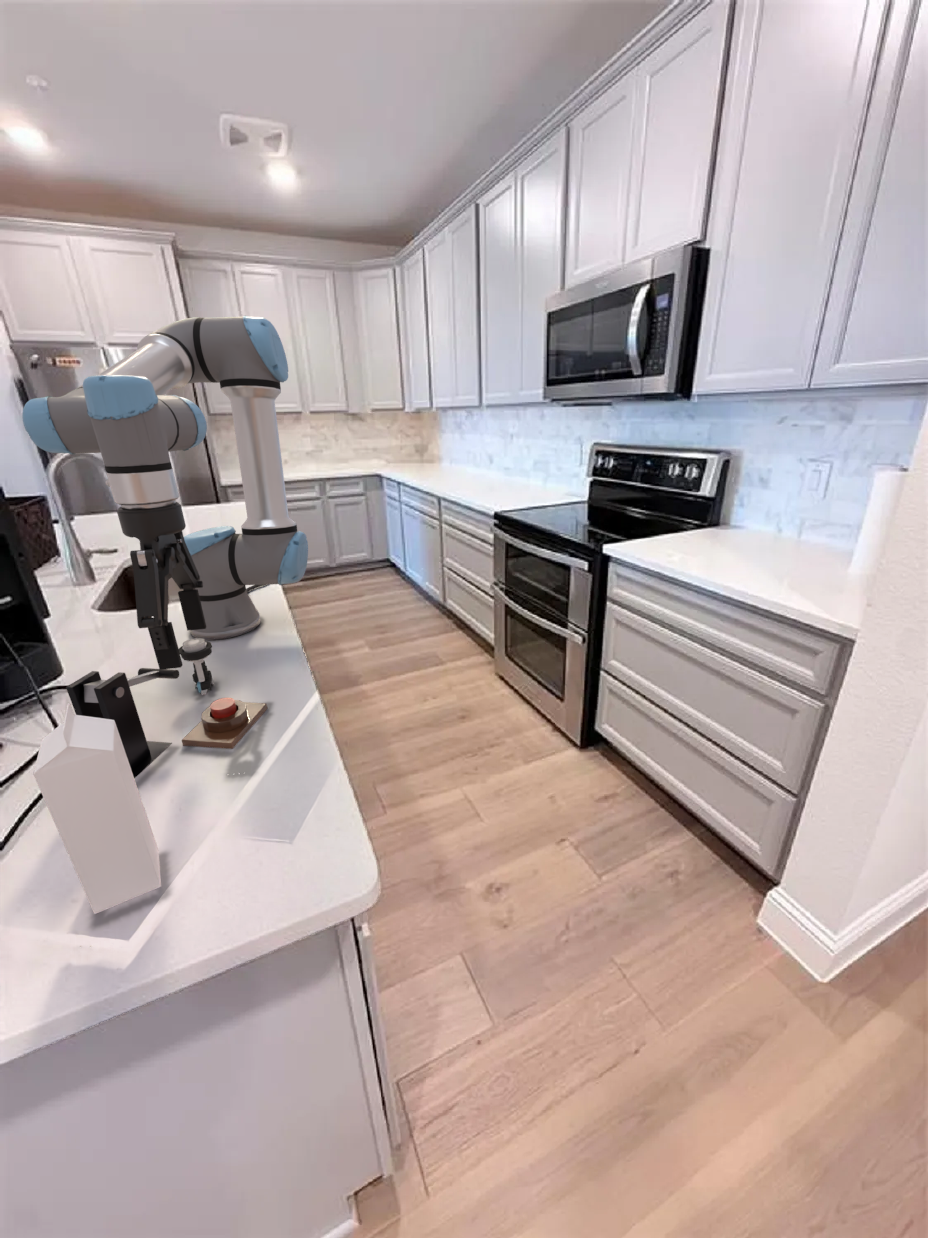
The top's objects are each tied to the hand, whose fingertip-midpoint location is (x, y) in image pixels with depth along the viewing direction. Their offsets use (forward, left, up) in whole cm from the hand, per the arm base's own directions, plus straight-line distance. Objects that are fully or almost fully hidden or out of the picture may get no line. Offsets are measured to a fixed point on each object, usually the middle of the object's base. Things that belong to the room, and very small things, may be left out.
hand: (185, 646), depth 76 cm
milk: (+28, +9, -15) cm, 33 cm away
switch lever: (+5, -6, -5) cm, 9 cm away
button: (0, +4, -11) cm, 12 cm away
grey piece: (-11, -7, -15) cm, 20 cm away
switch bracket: (+10, -6, -15) cm, 19 cm away
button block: (0, +4, -15) cm, 15 cm away
